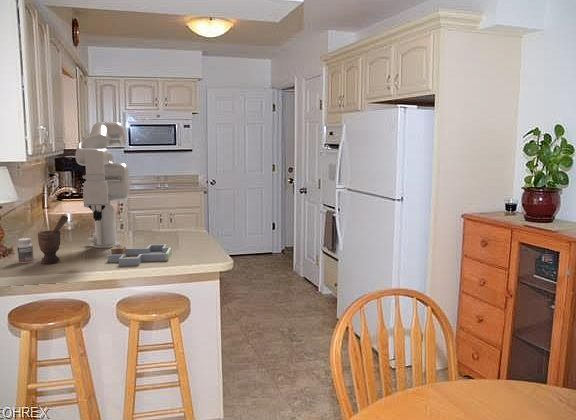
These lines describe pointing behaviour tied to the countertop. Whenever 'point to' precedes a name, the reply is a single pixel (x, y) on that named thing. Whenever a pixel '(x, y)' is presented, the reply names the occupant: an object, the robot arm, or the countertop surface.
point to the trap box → (142, 255)
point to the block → (118, 250)
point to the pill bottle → (25, 250)
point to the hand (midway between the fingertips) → (97, 220)
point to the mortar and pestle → (51, 242)
